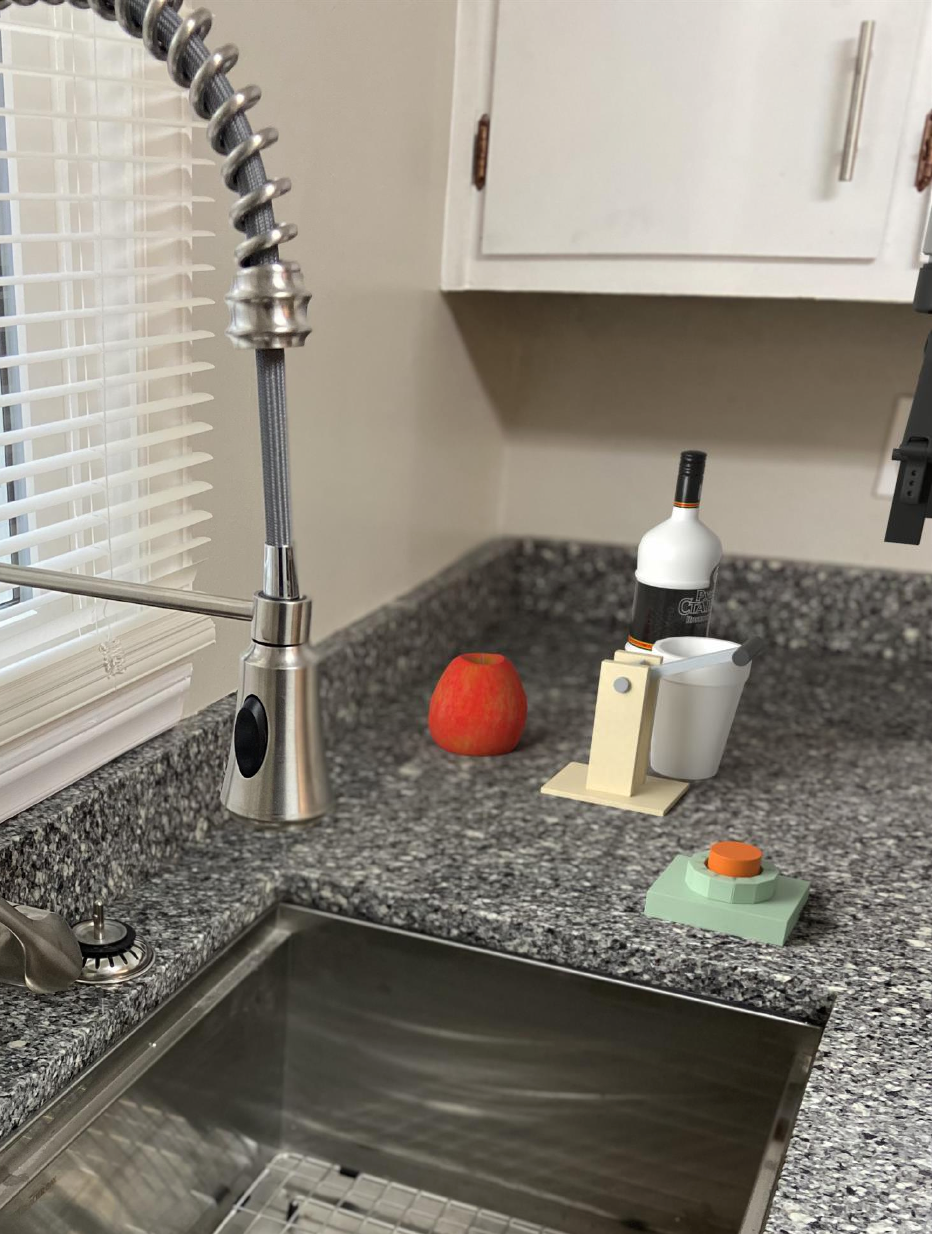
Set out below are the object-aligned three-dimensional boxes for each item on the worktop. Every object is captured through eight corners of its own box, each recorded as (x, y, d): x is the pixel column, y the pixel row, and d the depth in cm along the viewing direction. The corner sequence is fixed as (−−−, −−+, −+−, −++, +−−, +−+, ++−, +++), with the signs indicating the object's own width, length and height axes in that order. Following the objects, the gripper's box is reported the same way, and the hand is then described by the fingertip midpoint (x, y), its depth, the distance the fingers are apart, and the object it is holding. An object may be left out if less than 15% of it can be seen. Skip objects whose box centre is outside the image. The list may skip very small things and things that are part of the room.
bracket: (687, 794, 146) (709, 657, 140) (661, 823, 139) (683, 680, 133) (570, 772, 152) (586, 639, 146) (539, 799, 145) (555, 660, 139)
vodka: (628, 719, 168) (667, 441, 154) (709, 735, 163) (756, 449, 149) (595, 740, 161) (632, 451, 147) (678, 757, 156) (724, 460, 143)
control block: (806, 905, 123) (815, 861, 121) (782, 947, 116) (791, 900, 114) (674, 877, 128) (681, 834, 126) (643, 915, 121) (650, 870, 119)
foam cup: (743, 791, 147) (766, 662, 141) (649, 790, 147) (669, 662, 141) (713, 759, 156) (734, 637, 150) (625, 758, 156) (642, 636, 150)
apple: (498, 731, 164) (507, 637, 159) (540, 761, 155) (551, 662, 150) (412, 738, 161) (418, 642, 156) (449, 769, 152) (457, 669, 148)
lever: (766, 655, 136) (761, 629, 135) (752, 669, 131) (746, 642, 131) (627, 685, 143) (621, 661, 143) (610, 700, 139) (603, 675, 139)
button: (763, 867, 121) (767, 847, 120) (752, 884, 118) (755, 864, 117) (714, 857, 123) (717, 837, 122) (701, 873, 120) (704, 853, 119)
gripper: (1006, 266, 108) (940, 560, 118) (1037, 258, 128) (978, 512, 137) (897, 263, 112) (841, 549, 121) (943, 256, 131) (892, 504, 141)
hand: (914, 530), depth 129 cm, fingers open, 13 cm apart
